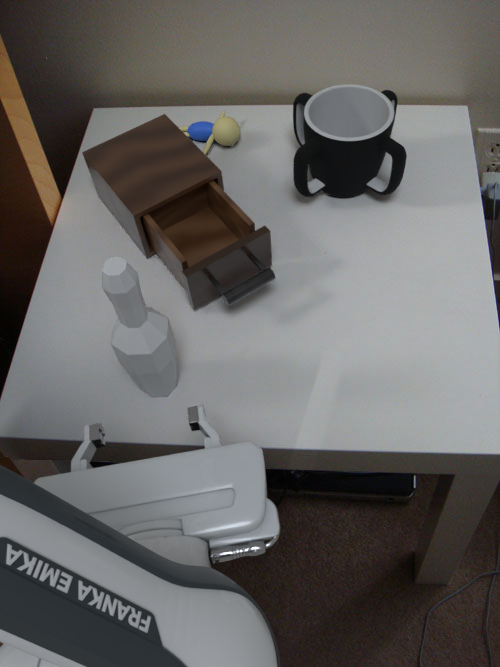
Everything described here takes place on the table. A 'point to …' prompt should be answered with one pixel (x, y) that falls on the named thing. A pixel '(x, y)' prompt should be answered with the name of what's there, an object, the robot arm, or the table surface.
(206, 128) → the toy figure
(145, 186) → the cabinet
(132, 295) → the faceted bottle
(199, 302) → the drawer
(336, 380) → the table surface
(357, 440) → the table surface
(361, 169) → the mug
